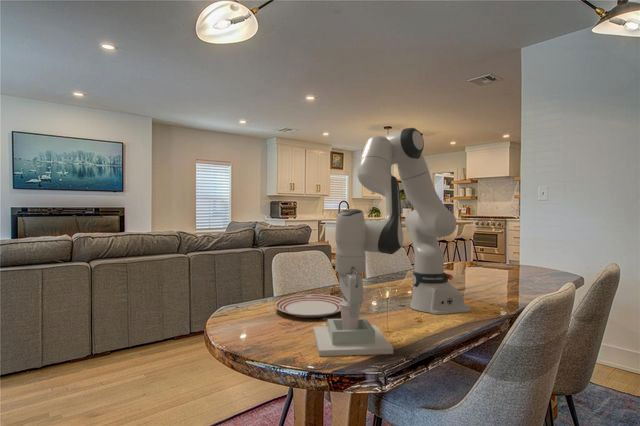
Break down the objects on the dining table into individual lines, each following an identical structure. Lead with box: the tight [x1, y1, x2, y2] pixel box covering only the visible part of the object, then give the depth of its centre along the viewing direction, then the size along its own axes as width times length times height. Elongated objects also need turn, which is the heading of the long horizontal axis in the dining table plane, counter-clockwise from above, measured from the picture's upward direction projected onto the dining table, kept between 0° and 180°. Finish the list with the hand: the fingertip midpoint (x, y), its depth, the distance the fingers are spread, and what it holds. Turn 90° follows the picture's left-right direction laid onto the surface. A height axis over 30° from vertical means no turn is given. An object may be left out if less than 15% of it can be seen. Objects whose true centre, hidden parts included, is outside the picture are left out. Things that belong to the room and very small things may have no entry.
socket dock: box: [312, 317, 394, 357], centre depth 109 cm, size 20×20×5 cm
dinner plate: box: [274, 293, 344, 319], centre depth 143 cm, size 27×27×3 cm
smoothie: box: [339, 300, 362, 330], centre depth 110 cm, size 6×6×14 cm
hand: (350, 312), depth 109 cm, fingers open, 8 cm apart
